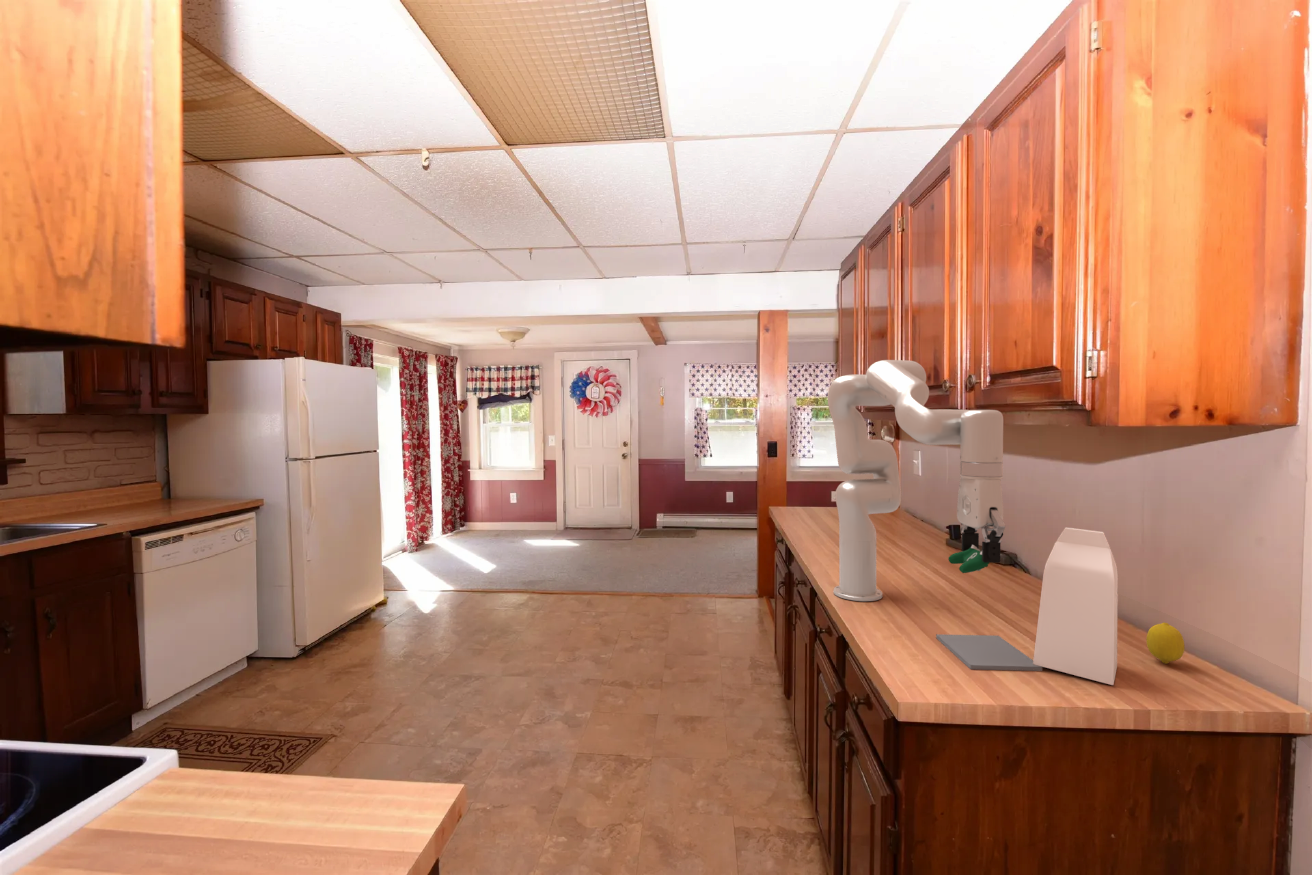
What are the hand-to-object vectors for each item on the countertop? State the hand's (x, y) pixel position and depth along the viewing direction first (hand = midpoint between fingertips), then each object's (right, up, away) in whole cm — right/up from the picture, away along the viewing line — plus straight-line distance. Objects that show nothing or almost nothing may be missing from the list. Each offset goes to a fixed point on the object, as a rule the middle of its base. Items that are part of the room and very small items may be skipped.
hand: (980, 556), depth 116 cm
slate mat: (+1, -20, 0) cm, 20 cm away
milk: (+14, -20, -7) cm, 25 cm away
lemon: (+33, -20, -5) cm, 39 cm away
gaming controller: (-2, -3, 0) cm, 3 cm away
